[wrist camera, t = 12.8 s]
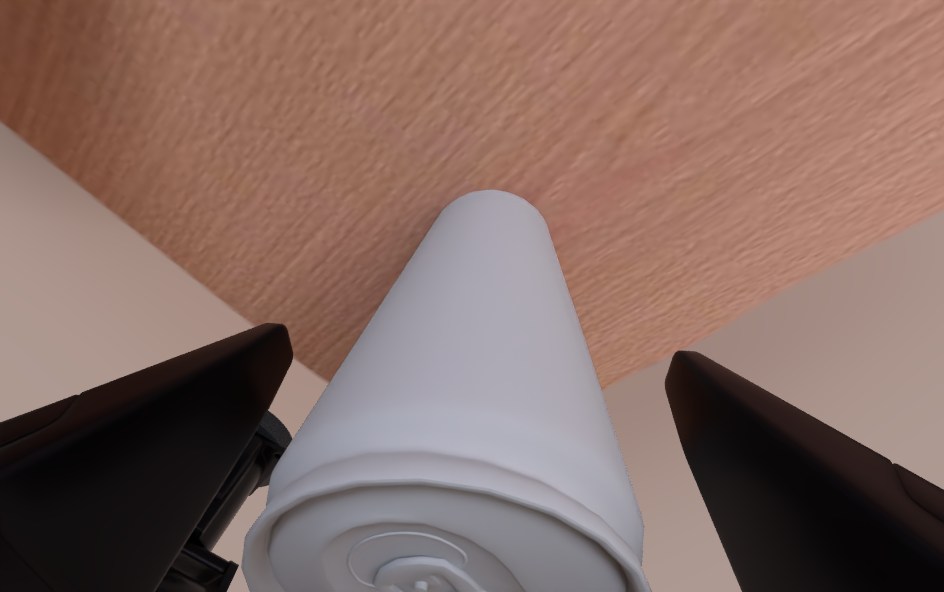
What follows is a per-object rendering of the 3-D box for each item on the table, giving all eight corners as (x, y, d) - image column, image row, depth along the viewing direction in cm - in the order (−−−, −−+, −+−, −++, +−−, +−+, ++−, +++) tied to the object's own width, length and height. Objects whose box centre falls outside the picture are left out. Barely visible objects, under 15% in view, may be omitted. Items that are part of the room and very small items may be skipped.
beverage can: (513, 160, 13) (531, 386, 3) (572, 268, 15) (731, 679, 4) (407, 226, 15) (137, 544, 4) (471, 318, 16) (399, 715, 6)
